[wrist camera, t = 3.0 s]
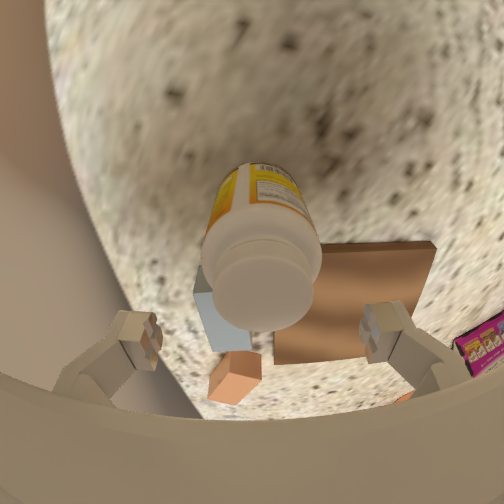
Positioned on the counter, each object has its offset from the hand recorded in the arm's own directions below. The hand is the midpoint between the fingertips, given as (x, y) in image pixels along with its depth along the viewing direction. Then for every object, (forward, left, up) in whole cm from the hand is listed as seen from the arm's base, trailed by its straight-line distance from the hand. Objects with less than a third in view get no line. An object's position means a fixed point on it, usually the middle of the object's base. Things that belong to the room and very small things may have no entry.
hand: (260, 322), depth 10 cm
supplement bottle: (-1, 0, -11) cm, 11 cm away
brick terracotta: (+19, -3, -11) cm, 23 cm away
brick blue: (+8, -3, -11) cm, 14 cm away
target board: (+10, +8, -11) cm, 17 cm away
